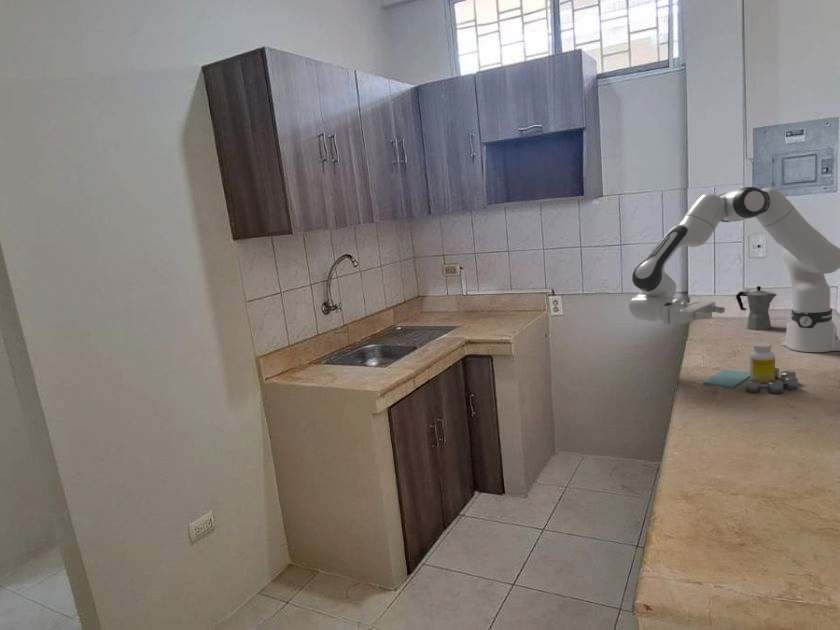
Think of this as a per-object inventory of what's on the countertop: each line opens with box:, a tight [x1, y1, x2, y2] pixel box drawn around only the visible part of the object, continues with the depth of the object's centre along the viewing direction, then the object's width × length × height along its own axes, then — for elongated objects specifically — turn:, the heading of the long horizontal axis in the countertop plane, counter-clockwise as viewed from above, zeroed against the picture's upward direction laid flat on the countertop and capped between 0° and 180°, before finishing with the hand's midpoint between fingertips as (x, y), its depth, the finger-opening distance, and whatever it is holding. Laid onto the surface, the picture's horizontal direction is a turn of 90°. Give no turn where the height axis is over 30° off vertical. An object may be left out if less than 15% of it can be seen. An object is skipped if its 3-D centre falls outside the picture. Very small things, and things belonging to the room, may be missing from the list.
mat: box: [703, 368, 750, 389], centre depth 183 cm, size 16×9×1 cm, turn 130°
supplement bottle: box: [749, 342, 776, 388], centre depth 174 cm, size 7×7×13 cm
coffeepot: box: [735, 285, 778, 331], centre depth 240 cm, size 15×9×18 cm, turn 44°
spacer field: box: [744, 367, 799, 395], centre depth 172 cm, size 19×12×3 cm, turn 130°
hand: (717, 313), depth 182 cm, fingers open, 8 cm apart
